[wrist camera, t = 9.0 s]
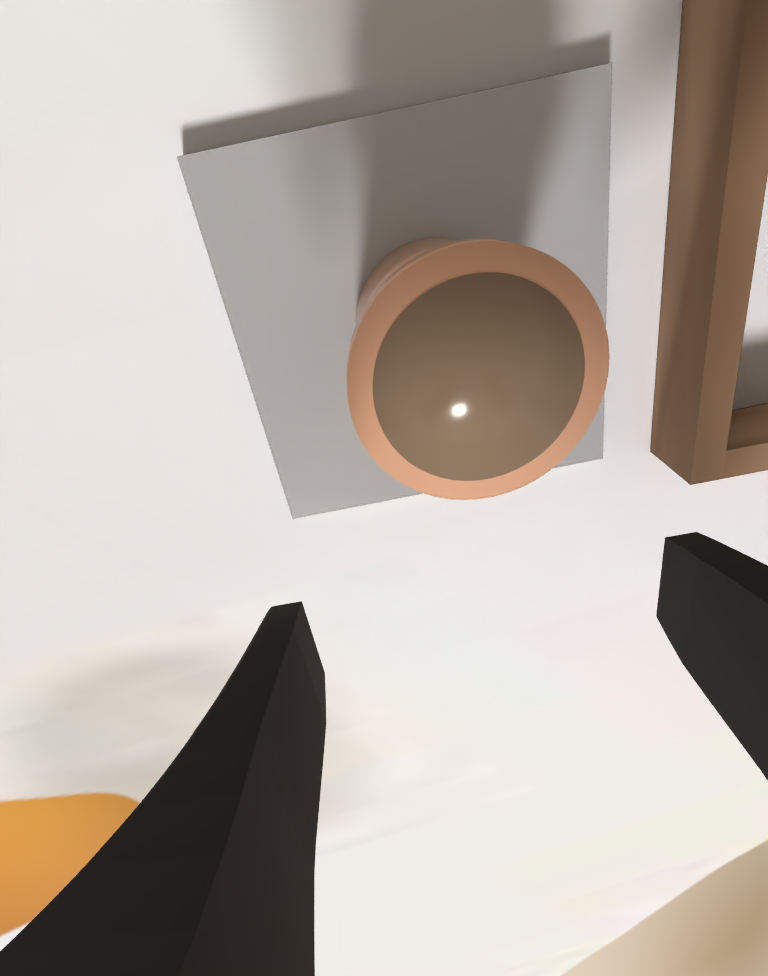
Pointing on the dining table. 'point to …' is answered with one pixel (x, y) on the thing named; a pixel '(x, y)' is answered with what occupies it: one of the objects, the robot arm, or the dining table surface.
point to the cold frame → (713, 243)
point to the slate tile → (388, 244)
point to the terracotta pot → (474, 365)
